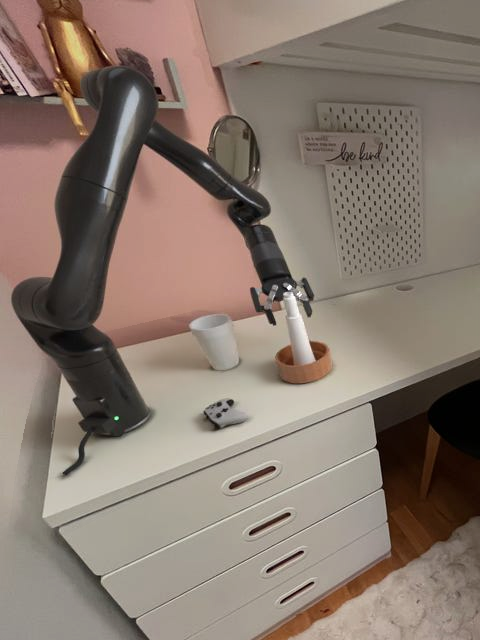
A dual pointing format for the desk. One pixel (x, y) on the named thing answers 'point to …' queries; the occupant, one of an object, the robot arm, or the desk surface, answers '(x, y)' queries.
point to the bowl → (308, 370)
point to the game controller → (224, 413)
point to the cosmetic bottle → (297, 332)
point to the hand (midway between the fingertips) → (292, 320)
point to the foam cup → (216, 340)
